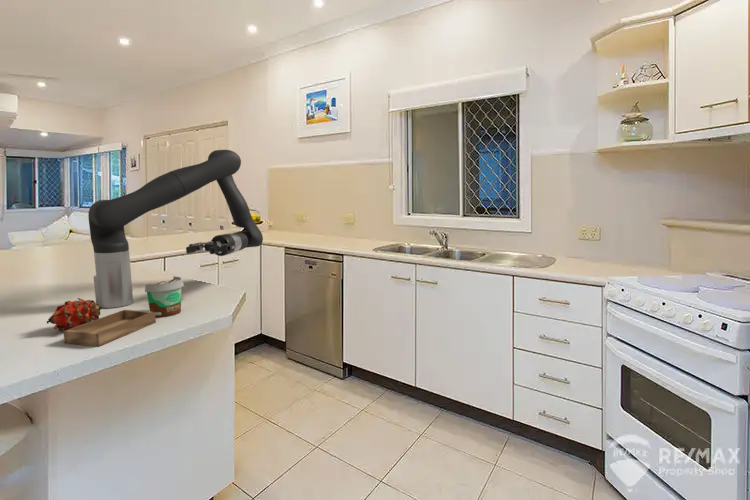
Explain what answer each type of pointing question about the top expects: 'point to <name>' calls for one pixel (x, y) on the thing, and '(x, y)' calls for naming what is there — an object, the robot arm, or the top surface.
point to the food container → (165, 297)
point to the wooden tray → (109, 328)
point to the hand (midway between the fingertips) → (198, 250)
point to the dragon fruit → (74, 314)
